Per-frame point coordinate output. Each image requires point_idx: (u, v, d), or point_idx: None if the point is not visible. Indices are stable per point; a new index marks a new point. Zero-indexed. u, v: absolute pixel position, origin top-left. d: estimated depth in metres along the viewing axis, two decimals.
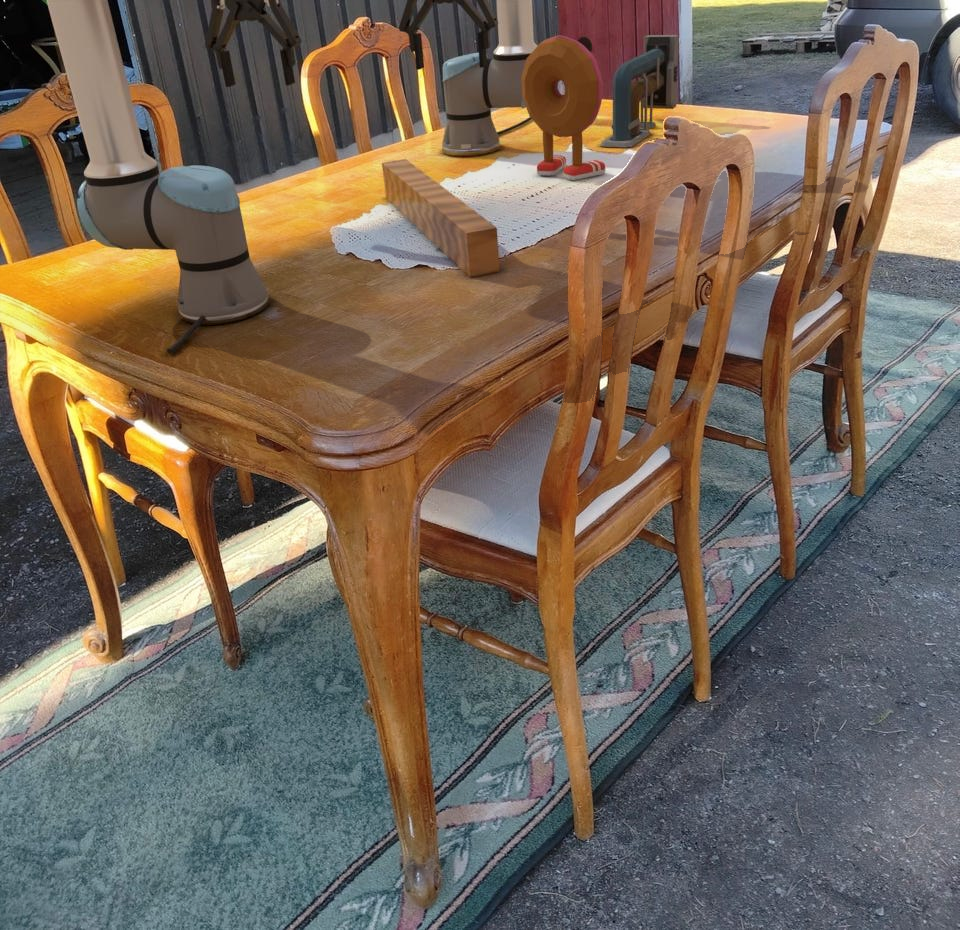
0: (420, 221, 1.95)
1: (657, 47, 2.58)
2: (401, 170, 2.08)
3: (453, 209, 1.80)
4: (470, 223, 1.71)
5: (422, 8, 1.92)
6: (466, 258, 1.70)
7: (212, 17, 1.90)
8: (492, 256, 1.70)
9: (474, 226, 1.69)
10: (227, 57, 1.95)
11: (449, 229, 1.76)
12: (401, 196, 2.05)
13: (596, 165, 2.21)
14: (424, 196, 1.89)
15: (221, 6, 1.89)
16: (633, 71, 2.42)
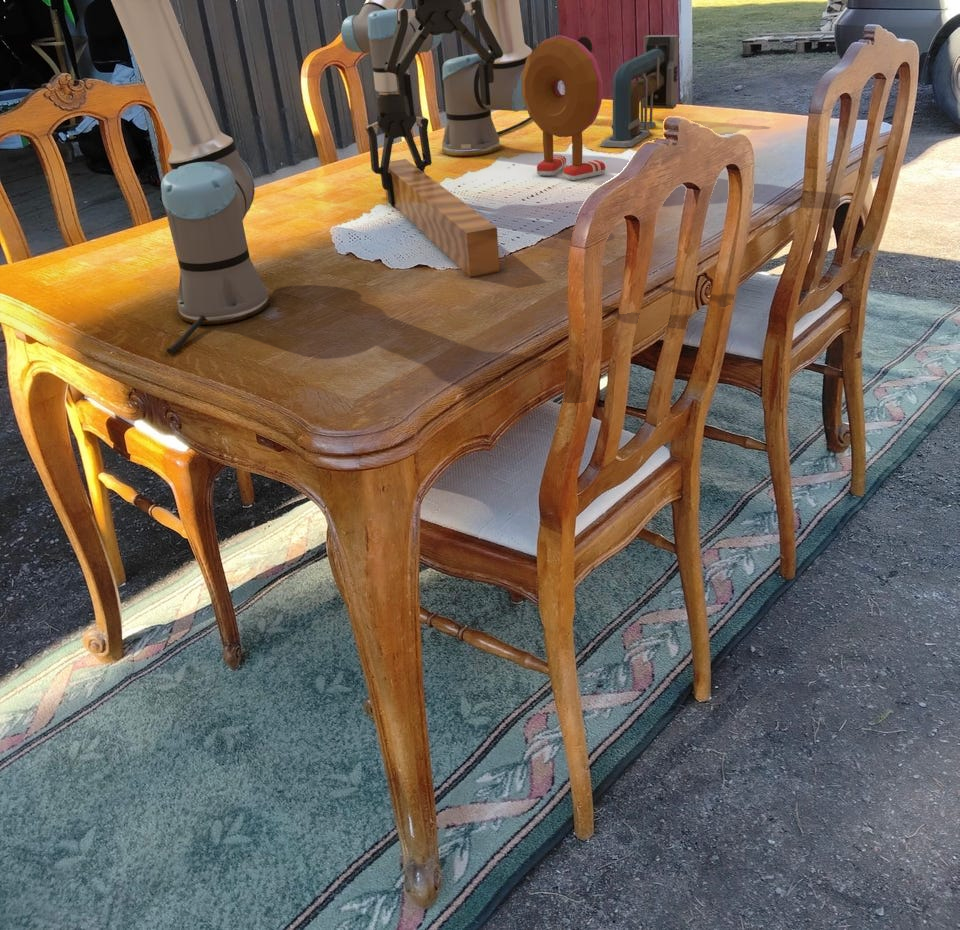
0: (420, 221, 1.95)
1: (657, 47, 2.58)
2: (401, 170, 2.08)
3: (453, 209, 1.80)
4: (470, 223, 1.71)
5: None
6: (466, 258, 1.70)
7: (400, 33, 1.56)
8: (493, 256, 1.70)
9: (474, 226, 1.69)
10: None
11: (449, 229, 1.76)
12: (401, 196, 2.05)
13: (596, 165, 2.21)
14: (424, 196, 1.89)
15: (410, 19, 1.56)
16: (633, 71, 2.42)
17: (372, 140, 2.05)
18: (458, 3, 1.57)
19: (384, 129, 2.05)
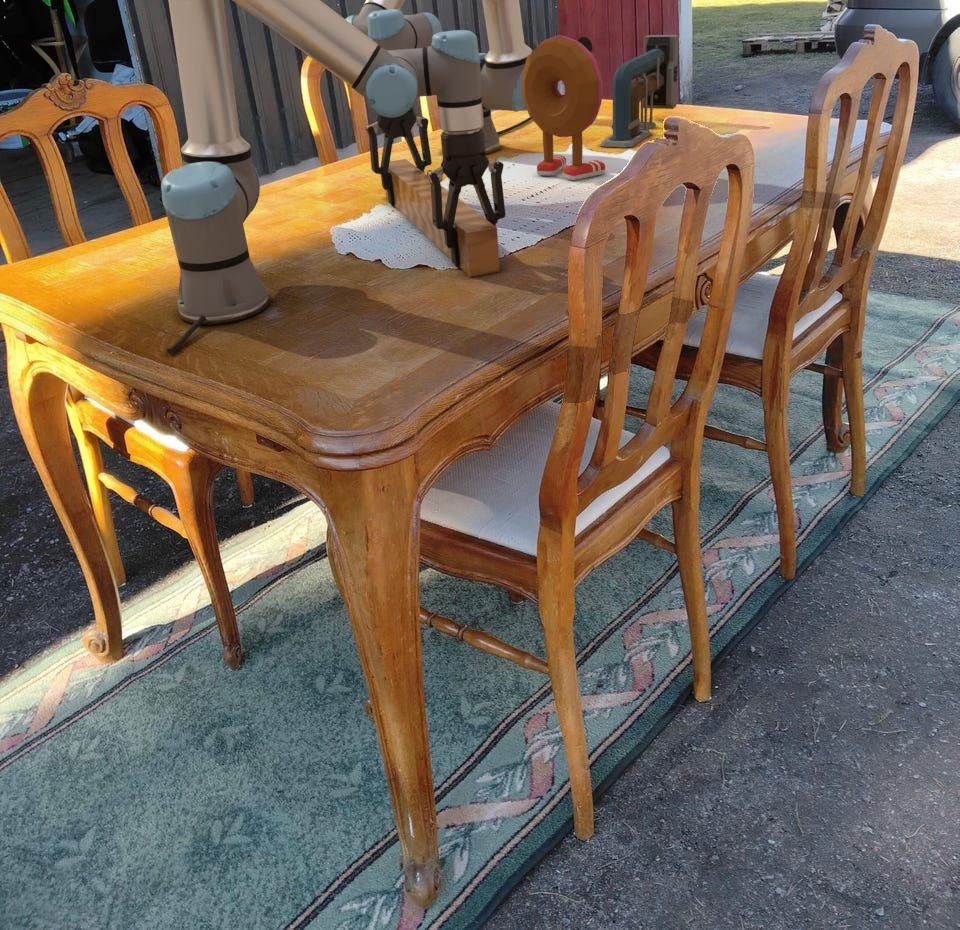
0: (420, 221, 1.95)
1: (657, 47, 2.58)
2: (401, 170, 2.08)
3: None
4: (470, 223, 1.71)
5: None
6: (466, 258, 1.70)
7: (437, 193, 1.67)
8: (493, 256, 1.70)
9: (474, 226, 1.69)
10: None
11: None
12: (401, 196, 2.05)
13: (596, 165, 2.21)
14: (424, 196, 1.89)
15: (441, 177, 1.67)
16: (633, 71, 2.42)
17: (372, 140, 2.05)
18: (483, 157, 1.67)
19: (384, 129, 2.05)
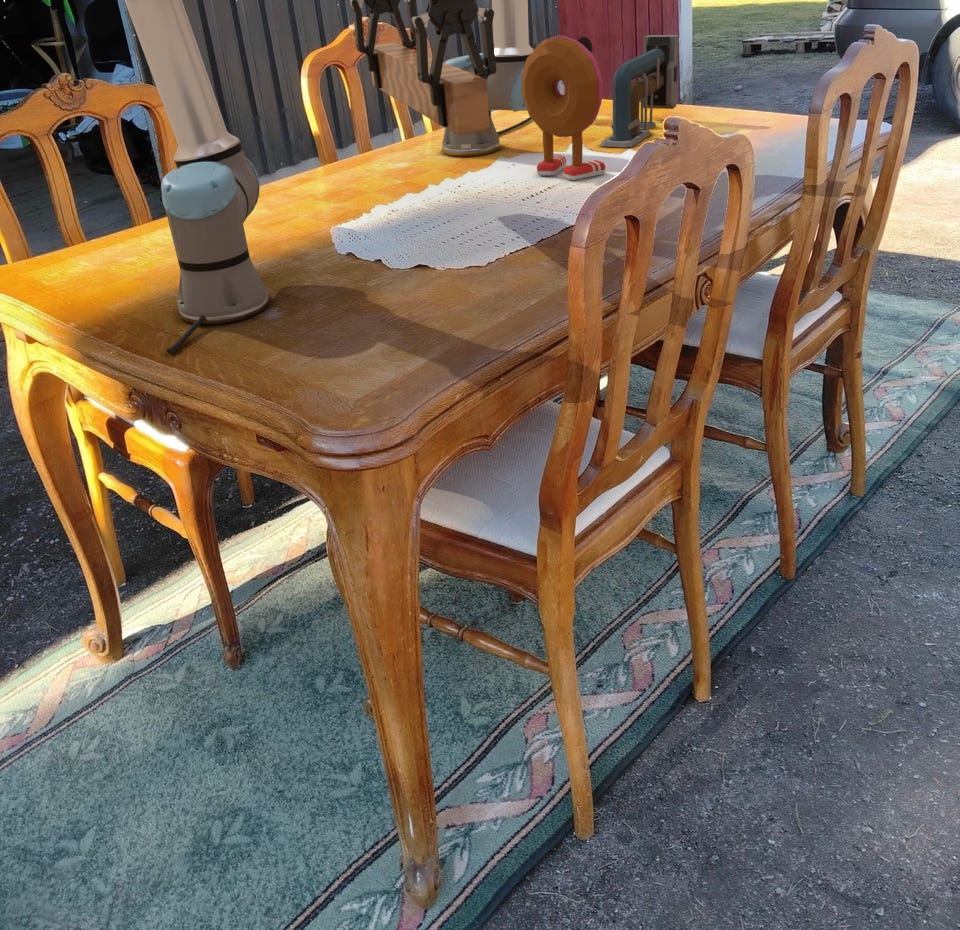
0: (407, 94, 1.83)
1: (657, 47, 2.58)
2: (388, 49, 1.96)
3: None
4: (457, 77, 1.59)
5: None
6: (454, 114, 1.58)
7: (422, 41, 1.55)
8: (482, 112, 1.58)
9: (462, 79, 1.57)
10: None
11: None
12: (387, 74, 1.93)
13: (596, 165, 2.21)
14: (410, 63, 1.77)
15: (426, 23, 1.55)
16: (633, 71, 2.42)
17: (356, 15, 1.93)
18: (472, 3, 1.55)
19: (369, 3, 1.93)
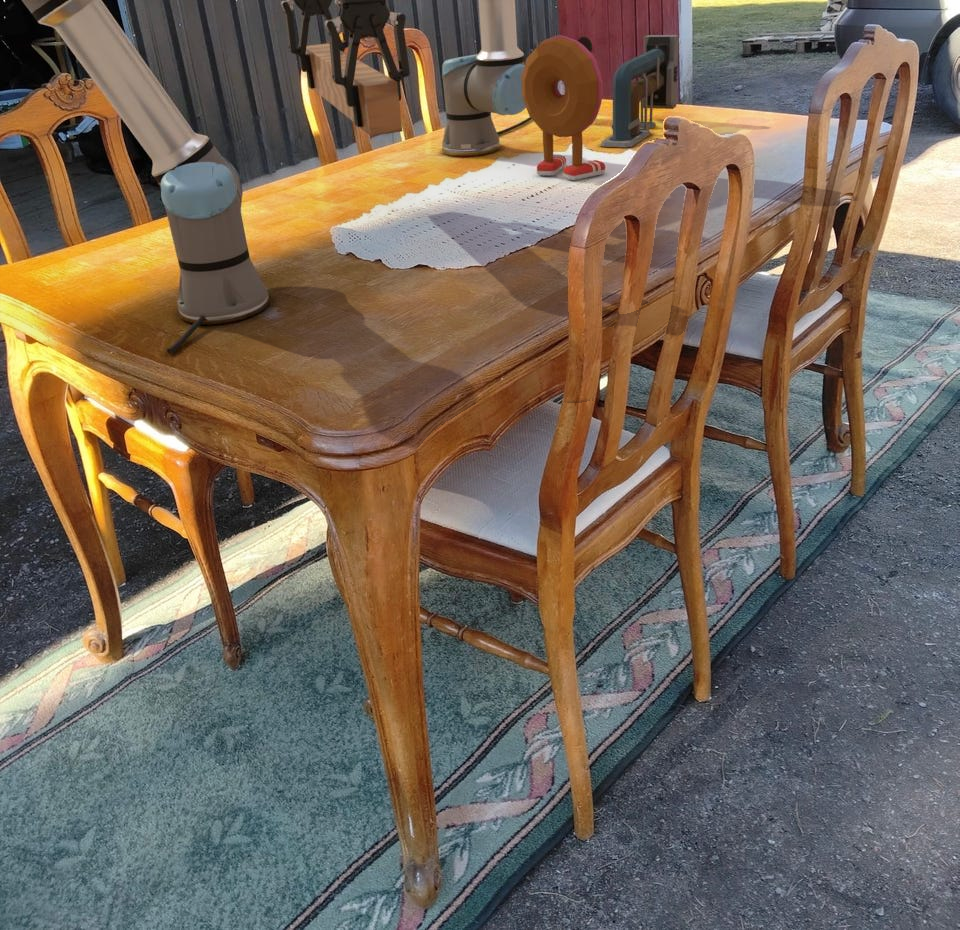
0: (332, 95, 1.88)
1: (657, 47, 2.58)
2: (319, 50, 2.01)
3: (359, 72, 1.72)
4: (371, 80, 1.64)
5: None
6: (366, 115, 1.63)
7: (334, 44, 1.60)
8: (394, 114, 1.63)
9: (374, 81, 1.62)
10: None
11: None
12: (318, 75, 1.98)
13: (596, 165, 2.21)
14: None
15: (338, 27, 1.60)
16: (633, 71, 2.42)
17: (288, 17, 1.98)
18: (383, 7, 1.60)
19: (300, 5, 1.98)
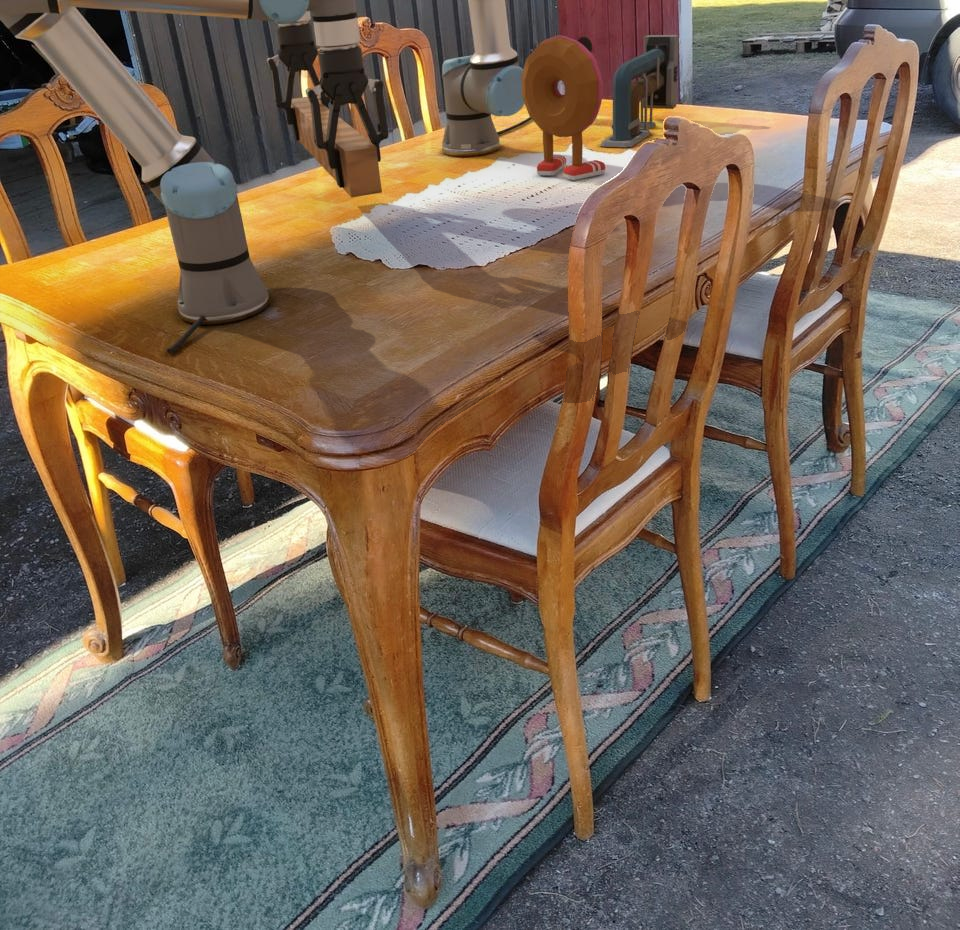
0: (316, 151, 1.95)
1: (657, 47, 2.58)
2: (304, 104, 2.08)
3: (340, 133, 1.80)
4: (351, 143, 1.71)
5: None
6: (347, 178, 1.70)
7: (316, 111, 1.67)
8: (373, 176, 1.70)
9: (354, 146, 1.69)
10: None
11: None
12: (302, 129, 2.05)
13: (596, 165, 2.21)
14: None
15: (319, 95, 1.67)
16: (633, 71, 2.42)
17: (273, 73, 2.05)
18: (361, 75, 1.67)
19: (285, 62, 2.05)
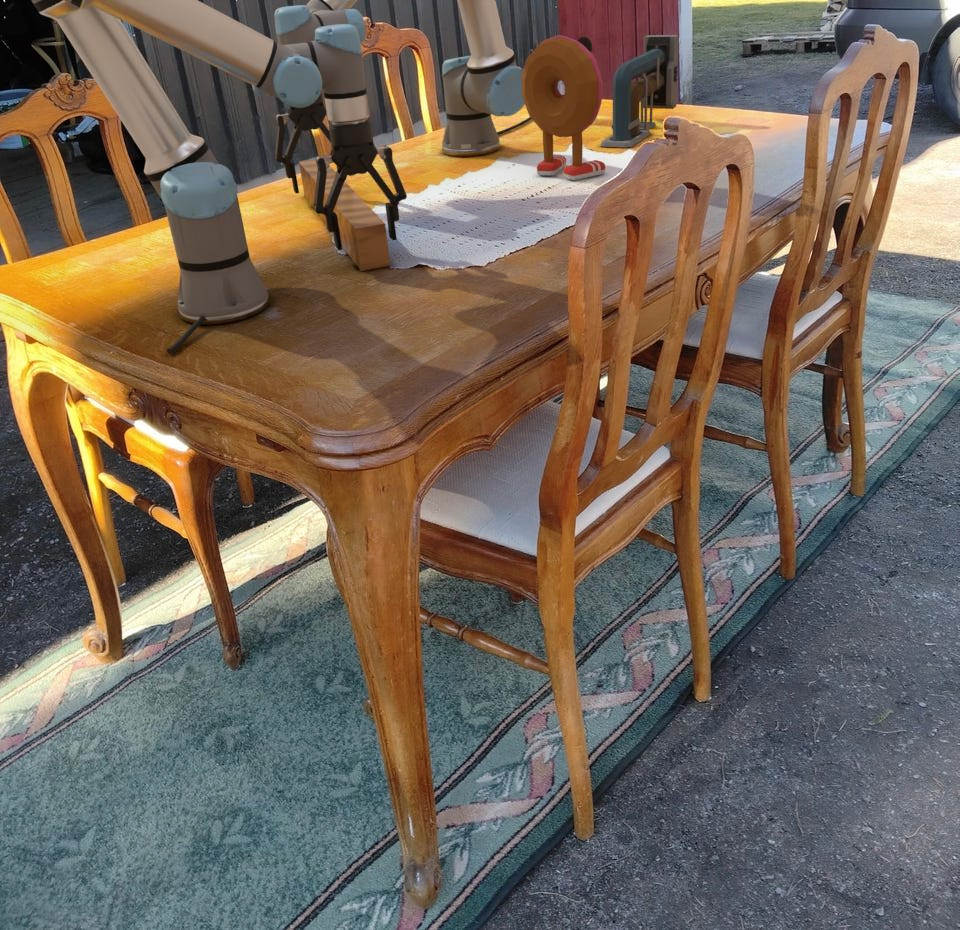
0: None
1: (657, 47, 2.58)
2: (314, 169, 2.15)
3: (350, 206, 1.86)
4: (361, 219, 1.78)
5: None
6: (357, 253, 1.77)
7: (321, 179, 1.73)
8: (382, 251, 1.77)
9: (364, 222, 1.76)
10: None
11: (344, 225, 1.83)
12: (313, 194, 2.12)
13: (596, 165, 2.21)
14: (327, 193, 1.96)
15: (328, 164, 1.73)
16: (633, 71, 2.42)
17: (280, 129, 2.11)
18: (370, 147, 1.73)
19: (295, 122, 2.11)
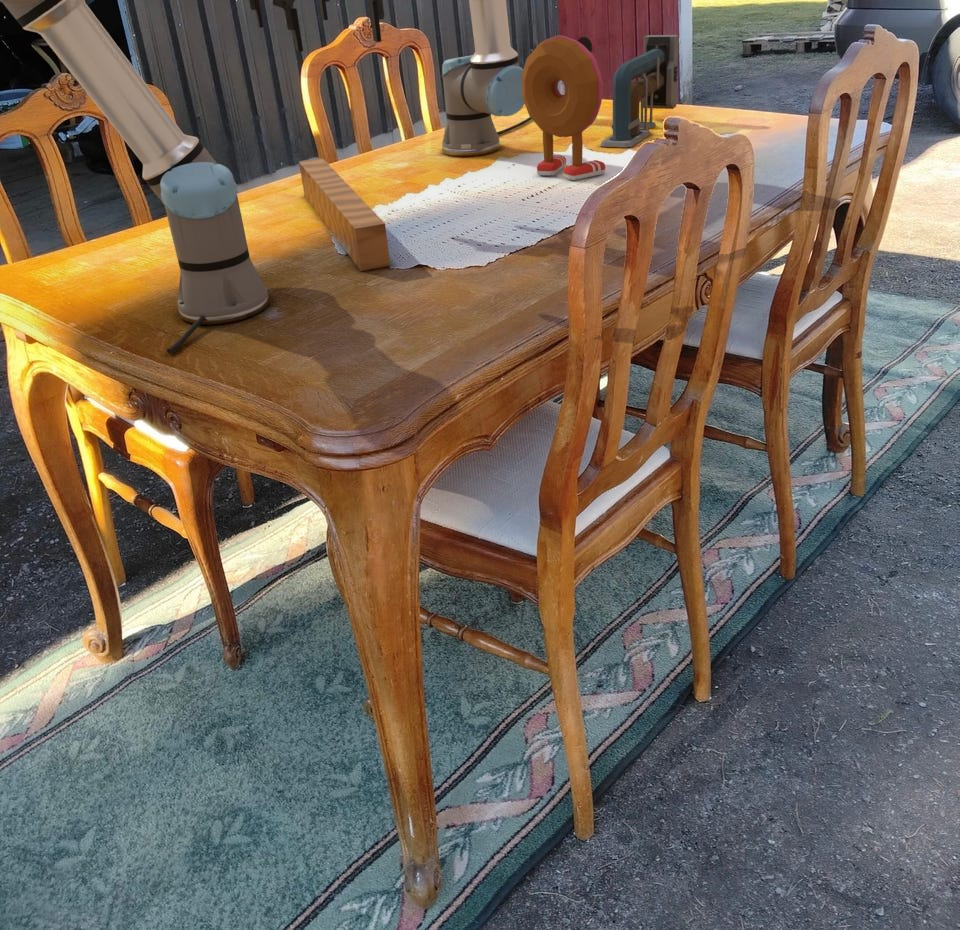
0: (326, 218, 2.02)
1: (657, 47, 2.58)
2: (314, 169, 2.15)
3: (350, 206, 1.86)
4: (361, 219, 1.78)
5: None
6: (357, 253, 1.77)
7: None
8: (382, 251, 1.77)
9: (364, 222, 1.76)
10: None
11: (344, 225, 1.83)
12: (313, 194, 2.12)
13: (596, 165, 2.21)
14: (327, 193, 1.96)
15: None
16: (633, 71, 2.42)
17: None
18: None
19: None
